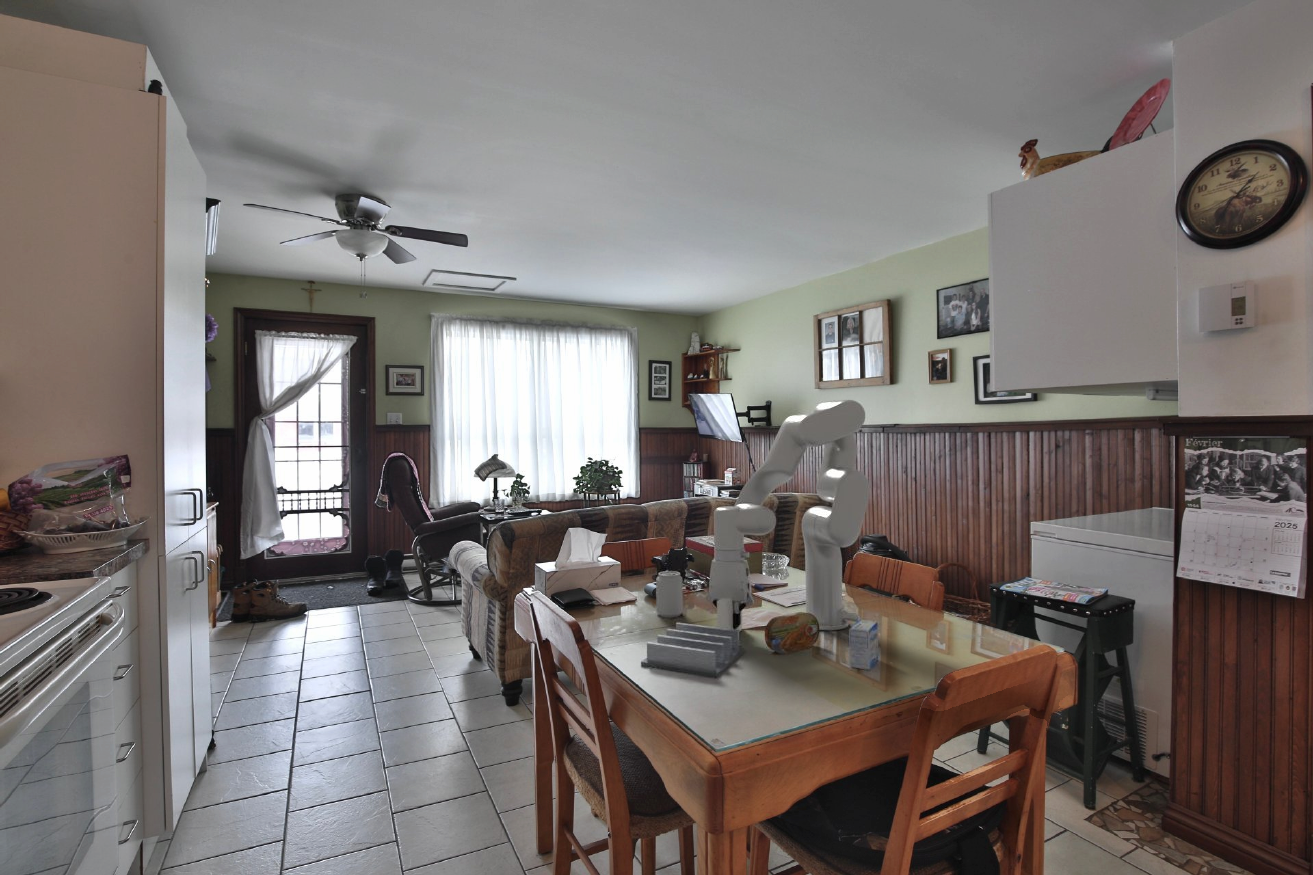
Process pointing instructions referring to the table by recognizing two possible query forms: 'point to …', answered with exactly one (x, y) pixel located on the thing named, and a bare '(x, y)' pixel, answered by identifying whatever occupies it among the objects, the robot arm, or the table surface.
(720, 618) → the cream white block
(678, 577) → the can
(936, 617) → the table surface
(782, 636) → the tin
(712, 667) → the dish rack
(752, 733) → the table surface
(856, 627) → the medicine box
